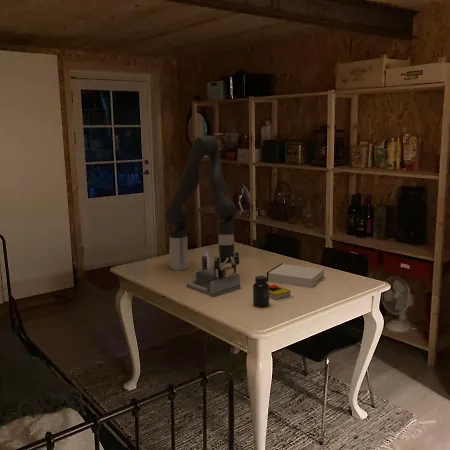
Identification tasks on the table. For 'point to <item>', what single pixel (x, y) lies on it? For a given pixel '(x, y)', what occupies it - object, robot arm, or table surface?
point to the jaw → (204, 273)
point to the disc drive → (295, 275)
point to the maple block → (227, 271)
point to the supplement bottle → (261, 292)
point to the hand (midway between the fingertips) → (227, 275)
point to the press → (217, 285)
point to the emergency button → (279, 293)
